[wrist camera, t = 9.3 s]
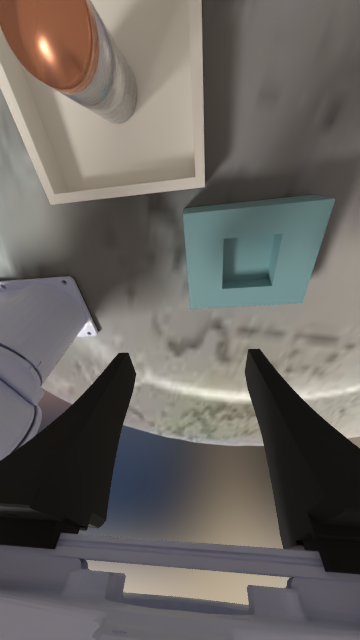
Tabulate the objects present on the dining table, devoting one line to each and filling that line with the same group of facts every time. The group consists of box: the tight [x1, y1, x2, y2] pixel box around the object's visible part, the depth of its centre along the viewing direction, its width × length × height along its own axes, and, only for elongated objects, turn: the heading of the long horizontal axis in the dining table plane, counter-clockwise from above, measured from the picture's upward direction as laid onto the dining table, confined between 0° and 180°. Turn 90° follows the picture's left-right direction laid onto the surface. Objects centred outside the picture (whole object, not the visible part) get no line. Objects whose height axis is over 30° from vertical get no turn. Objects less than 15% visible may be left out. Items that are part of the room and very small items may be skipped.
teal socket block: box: [183, 195, 336, 309], centre depth 17 cm, size 10×8×3 cm
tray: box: [0, 0, 205, 205], centre depth 11 cm, size 11×11×2 cm
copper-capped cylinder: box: [0, 0, 137, 124], centre depth 9 cm, size 3×3×7 cm
